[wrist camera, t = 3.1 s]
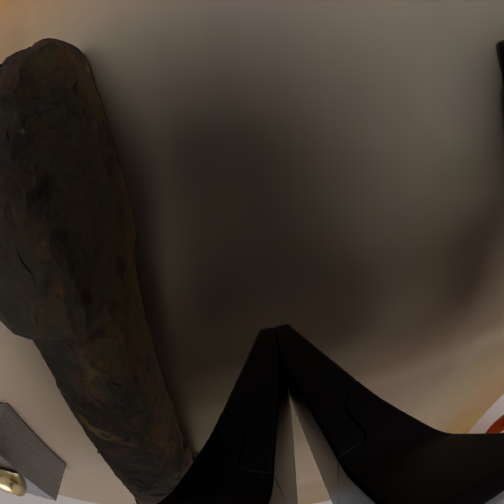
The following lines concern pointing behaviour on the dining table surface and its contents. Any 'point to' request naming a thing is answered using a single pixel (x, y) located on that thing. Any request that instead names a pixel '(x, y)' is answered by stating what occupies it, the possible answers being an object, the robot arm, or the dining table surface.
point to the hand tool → (80, 266)
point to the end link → (26, 459)
